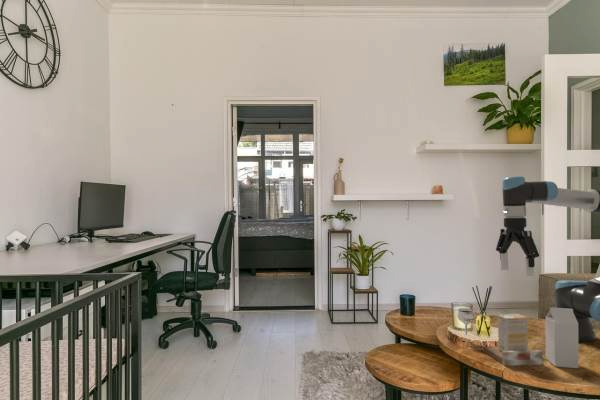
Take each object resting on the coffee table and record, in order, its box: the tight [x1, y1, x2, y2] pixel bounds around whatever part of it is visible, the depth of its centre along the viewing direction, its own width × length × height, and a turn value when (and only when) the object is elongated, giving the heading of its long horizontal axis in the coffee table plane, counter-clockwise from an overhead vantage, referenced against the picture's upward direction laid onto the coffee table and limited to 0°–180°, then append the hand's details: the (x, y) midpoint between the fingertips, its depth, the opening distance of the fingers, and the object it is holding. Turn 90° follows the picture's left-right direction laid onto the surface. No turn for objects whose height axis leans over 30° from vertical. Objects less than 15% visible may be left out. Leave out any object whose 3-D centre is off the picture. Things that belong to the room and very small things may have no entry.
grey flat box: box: [482, 345, 544, 367], centre depth 133 cm, size 14×12×4 cm
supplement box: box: [497, 313, 529, 352], centre depth 133 cm, size 8×5×13 cm, turn 96°
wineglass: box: [456, 307, 476, 336], centre depth 151 cm, size 7×7×12 cm
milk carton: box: [545, 307, 579, 369], centre depth 129 cm, size 7×7×19 cm
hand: (516, 272), depth 143 cm, fingers open, 13 cm apart
